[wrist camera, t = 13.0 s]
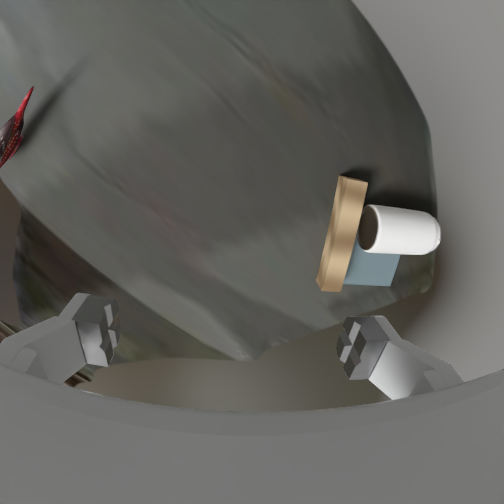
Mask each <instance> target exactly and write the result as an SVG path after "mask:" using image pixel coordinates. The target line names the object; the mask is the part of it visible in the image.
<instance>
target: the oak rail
mask: <svg viewBox="0 0 504 504" xmlns="http://www.w3.org/2000/svg"><path fill="white" fill-rule="evenodd" d="M367 185H368V183H367V182H364V181H362V180H360V179H356V178H351V177H346V176H341V175H339V178H338V184H337V189H336V194H335V199H334V204H333V209H332V214H331V219H330V223H329V228H328V232H327V237H326V241H325V246H324V250H323V254H322V259H321V263H320V267H319V271H318V275H317V279H316V282H317V283H318V285H319V287H320V289H321V291H333V292H341V289H342V285H343V282H344V278H345V275H346V271H347V268H348V264H349V261H350V257H351V253H352V249H353V245H354V242H355V238H356V234H357V230H358V225H359V221H360V217H361V213H362V208H363V204H364V199H365V194H366V190H367Z"/></svg>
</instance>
